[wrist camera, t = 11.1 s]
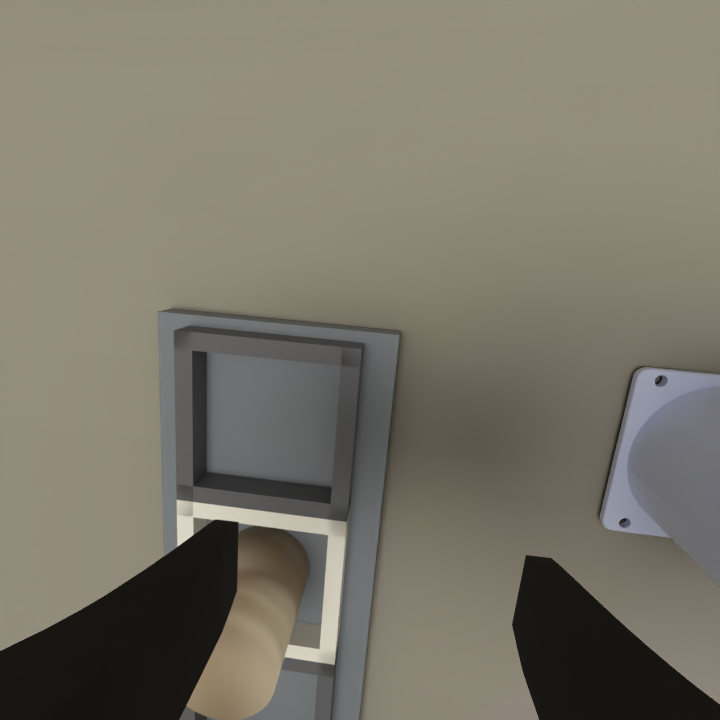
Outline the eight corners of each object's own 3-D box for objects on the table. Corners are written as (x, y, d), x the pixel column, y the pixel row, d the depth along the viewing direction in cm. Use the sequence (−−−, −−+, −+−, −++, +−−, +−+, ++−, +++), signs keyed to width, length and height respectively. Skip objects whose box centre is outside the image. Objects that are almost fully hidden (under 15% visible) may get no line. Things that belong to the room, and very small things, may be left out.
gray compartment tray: (399, 330, 20) (399, 340, 17) (355, 743, 25) (351, 796, 23) (171, 308, 20) (139, 315, 18) (179, 713, 26) (155, 762, 24)
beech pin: (312, 531, 21) (278, 634, 15) (306, 605, 22) (273, 728, 16) (226, 519, 21) (161, 615, 15) (224, 593, 22) (162, 709, 16)
